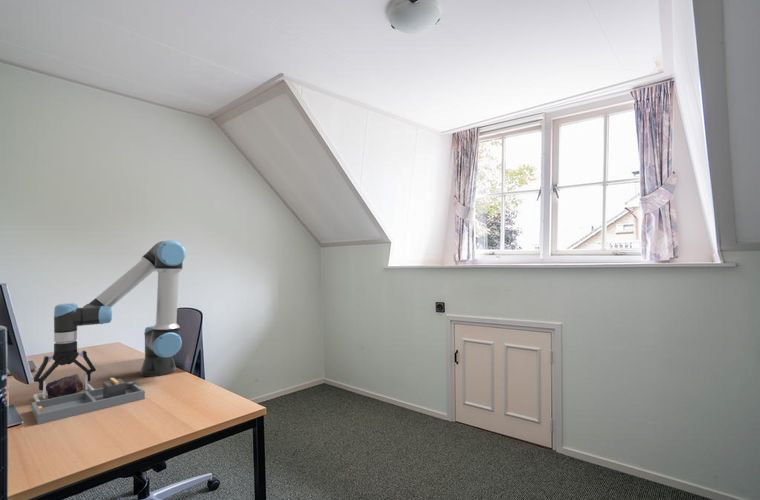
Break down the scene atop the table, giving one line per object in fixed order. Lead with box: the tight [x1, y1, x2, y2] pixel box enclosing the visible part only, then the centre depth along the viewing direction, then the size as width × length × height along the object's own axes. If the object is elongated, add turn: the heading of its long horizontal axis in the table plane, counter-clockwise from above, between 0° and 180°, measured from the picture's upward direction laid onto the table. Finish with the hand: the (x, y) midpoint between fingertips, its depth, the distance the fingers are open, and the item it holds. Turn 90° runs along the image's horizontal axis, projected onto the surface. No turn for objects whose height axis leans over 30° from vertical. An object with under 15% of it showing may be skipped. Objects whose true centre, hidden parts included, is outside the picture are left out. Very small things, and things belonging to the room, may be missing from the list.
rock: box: [46, 373, 84, 399], centre depth 165 cm, size 12×9×10 cm
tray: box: [33, 383, 95, 402], centre depth 166 cm, size 19×17×2 cm
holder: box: [31, 377, 146, 425], centre depth 157 cm, size 33×17×8 cm, turn 136°
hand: (65, 393), depth 165 cm, fingers open, 13 cm apart
